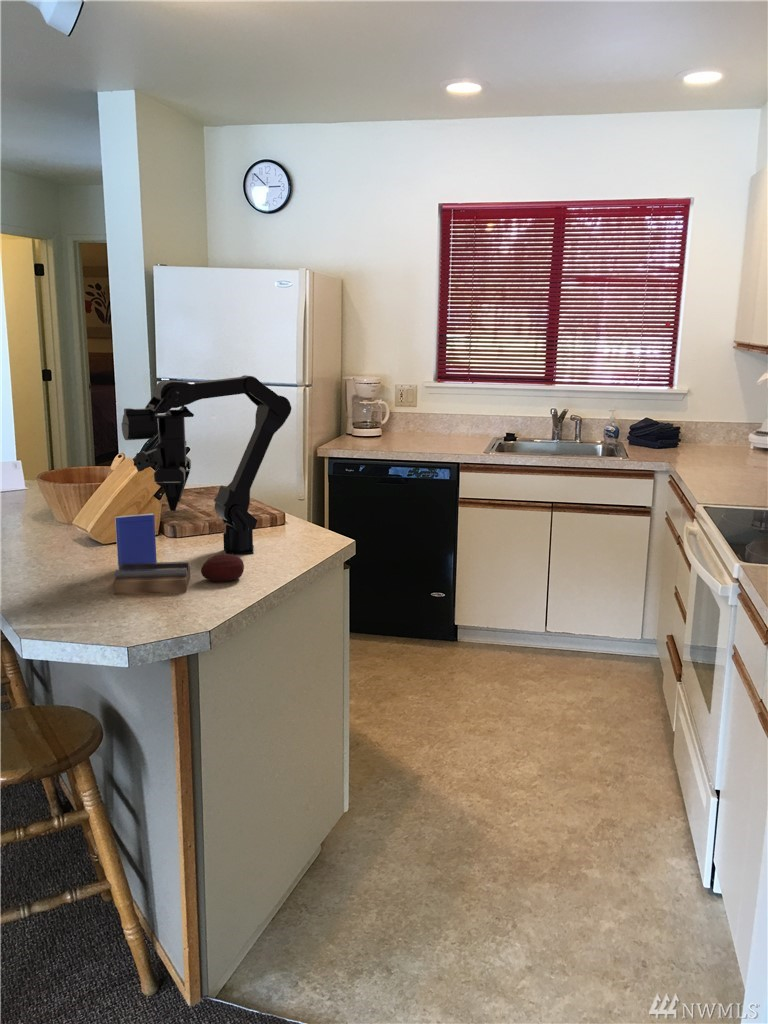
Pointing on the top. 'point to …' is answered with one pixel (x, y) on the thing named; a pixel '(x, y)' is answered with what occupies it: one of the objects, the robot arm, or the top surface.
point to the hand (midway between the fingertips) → (175, 506)
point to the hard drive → (136, 539)
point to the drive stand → (152, 578)
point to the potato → (222, 568)
